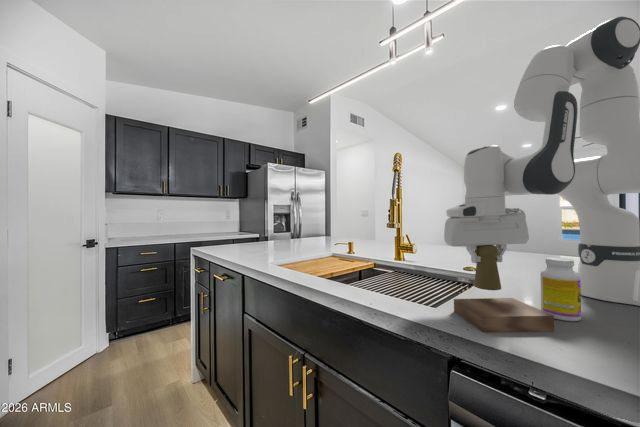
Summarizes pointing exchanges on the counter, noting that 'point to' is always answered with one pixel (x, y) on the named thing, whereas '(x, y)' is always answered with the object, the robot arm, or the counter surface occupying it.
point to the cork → (487, 268)
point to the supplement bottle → (561, 290)
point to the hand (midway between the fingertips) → (486, 262)
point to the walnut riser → (503, 315)
